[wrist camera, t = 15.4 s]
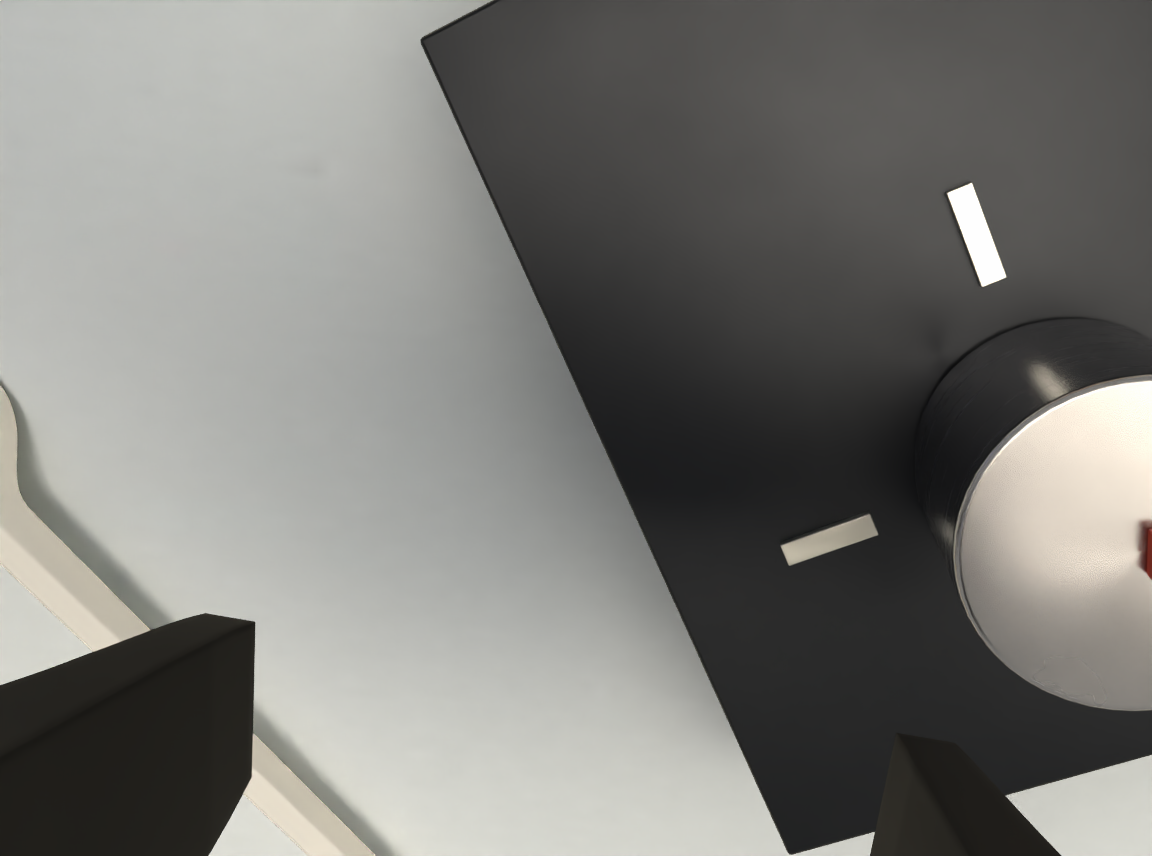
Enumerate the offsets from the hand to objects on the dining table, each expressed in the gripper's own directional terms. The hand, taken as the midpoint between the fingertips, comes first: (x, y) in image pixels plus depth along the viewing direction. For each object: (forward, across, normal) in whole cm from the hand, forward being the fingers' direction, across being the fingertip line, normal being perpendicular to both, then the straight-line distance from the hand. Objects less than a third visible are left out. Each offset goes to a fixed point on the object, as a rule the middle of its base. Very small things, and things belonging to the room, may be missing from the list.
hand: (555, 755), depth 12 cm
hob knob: (+5, -6, -3) cm, 8 cm away
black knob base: (+8, -4, -4) cm, 10 cm away
